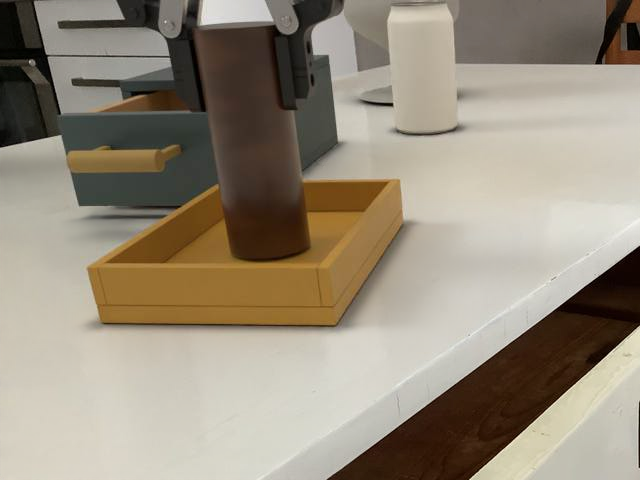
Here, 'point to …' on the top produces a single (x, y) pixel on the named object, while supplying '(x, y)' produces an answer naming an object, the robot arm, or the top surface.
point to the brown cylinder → (252, 139)
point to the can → (423, 67)
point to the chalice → (379, 31)
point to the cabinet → (310, 121)
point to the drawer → (139, 152)
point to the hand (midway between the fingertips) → (249, 107)
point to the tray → (250, 262)
